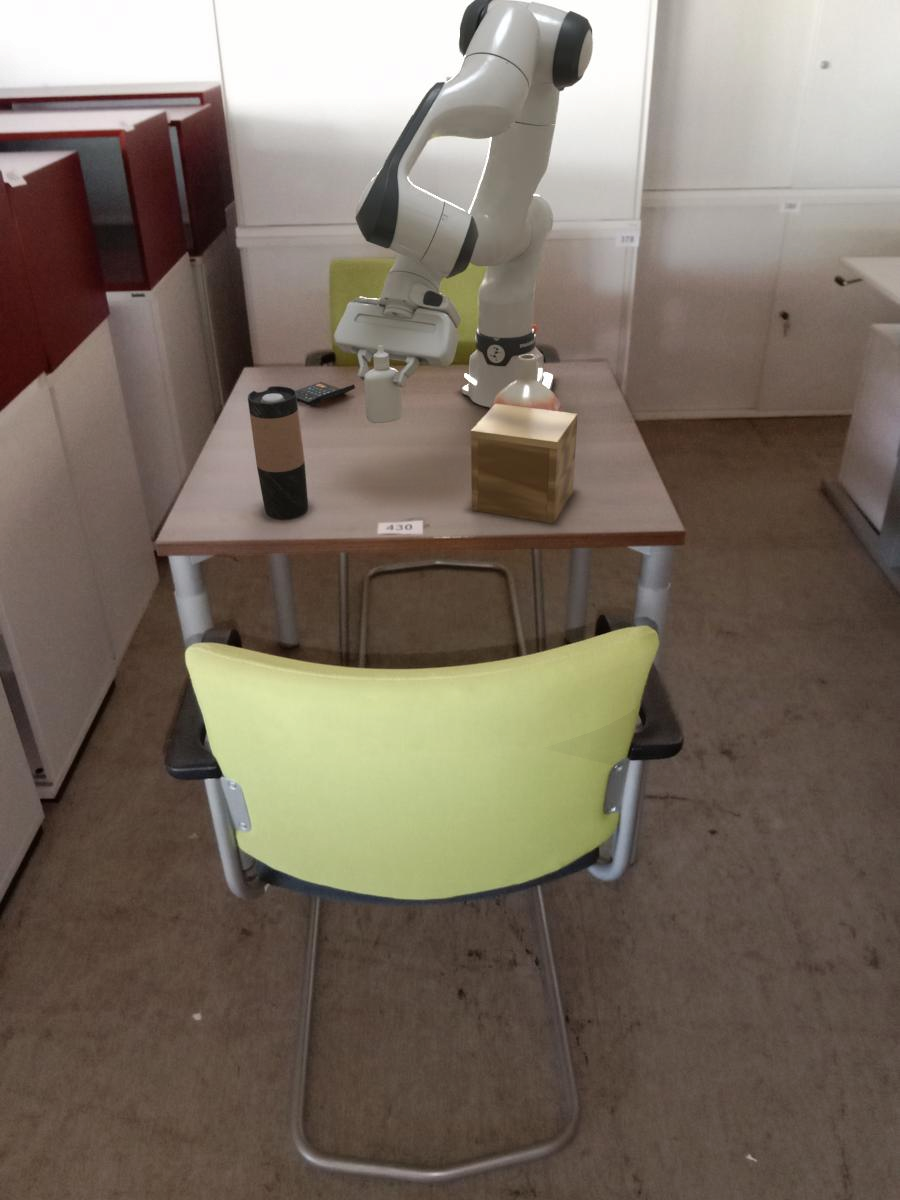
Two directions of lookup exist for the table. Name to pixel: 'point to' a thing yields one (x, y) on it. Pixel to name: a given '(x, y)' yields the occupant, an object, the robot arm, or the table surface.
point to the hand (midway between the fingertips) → (380, 382)
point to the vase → (527, 389)
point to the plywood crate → (523, 462)
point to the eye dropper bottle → (382, 391)
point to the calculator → (319, 393)
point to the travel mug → (279, 452)
